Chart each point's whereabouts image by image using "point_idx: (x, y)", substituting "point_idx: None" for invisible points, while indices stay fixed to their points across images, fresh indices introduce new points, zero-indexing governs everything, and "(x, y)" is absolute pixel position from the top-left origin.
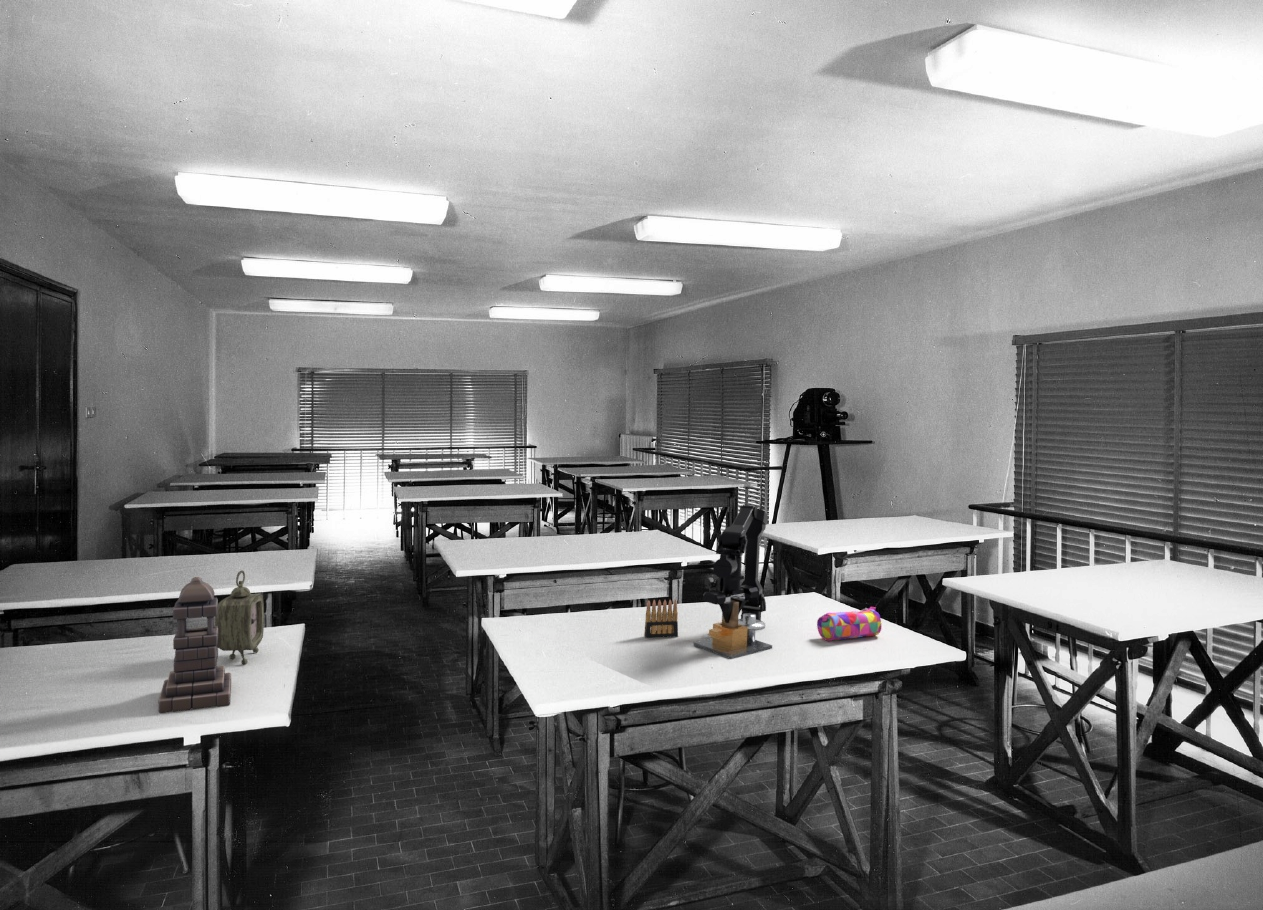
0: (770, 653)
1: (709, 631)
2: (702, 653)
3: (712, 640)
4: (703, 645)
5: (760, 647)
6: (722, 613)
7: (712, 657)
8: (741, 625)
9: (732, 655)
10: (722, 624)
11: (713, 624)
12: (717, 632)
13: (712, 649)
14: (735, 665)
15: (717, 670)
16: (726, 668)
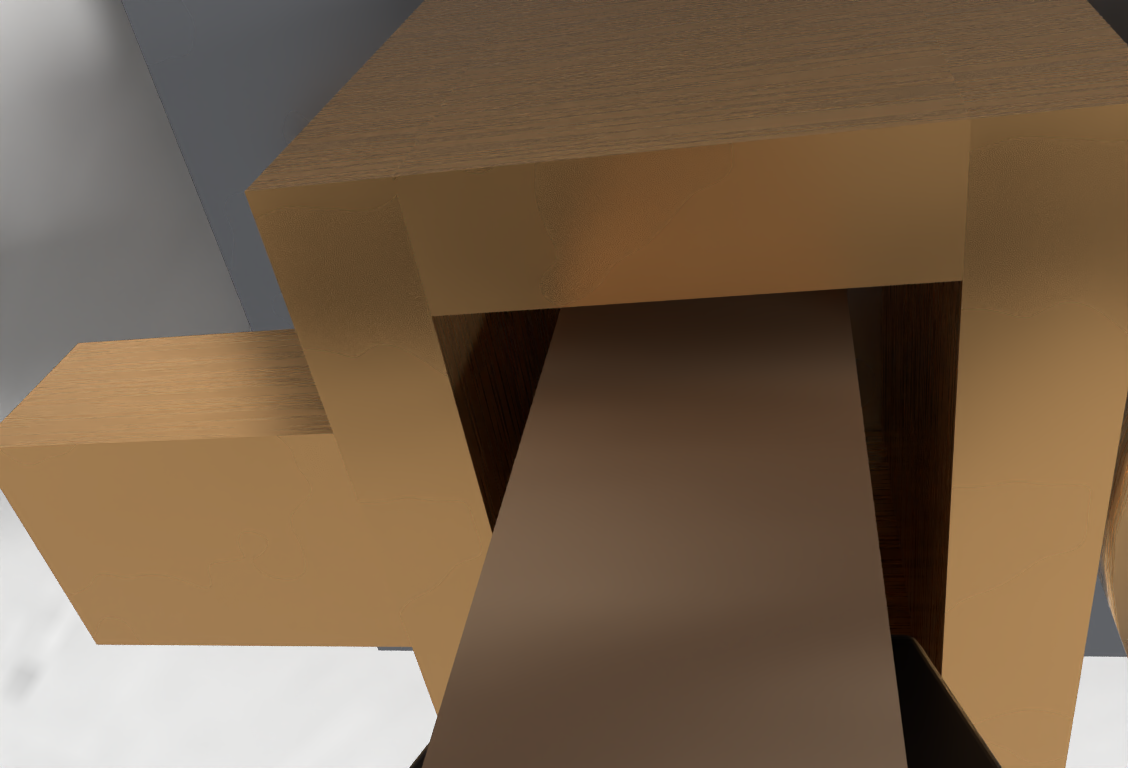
0: (1108, 720)
1: (14, 435)
2: (74, 248)
3: (422, 5)
4: (155, 48)
5: (1118, 633)
6: (442, 741)
7: None
8: (1026, 733)
9: (406, 647)
10: (547, 404)
11: (259, 214)
12: (151, 629)
13: (250, 307)
14: (320, 753)
15: (54, 749)
16: (175, 758)
